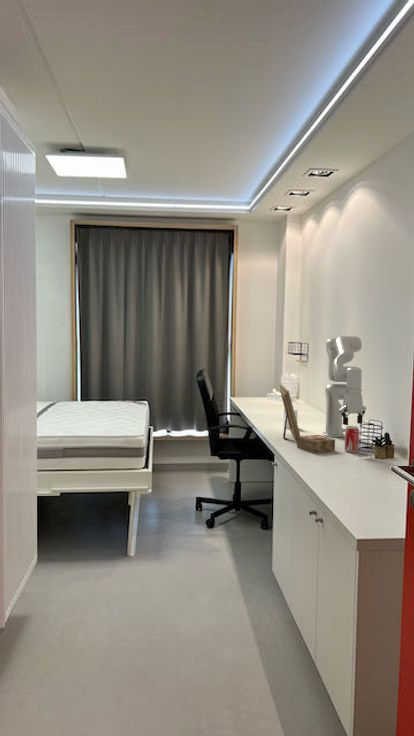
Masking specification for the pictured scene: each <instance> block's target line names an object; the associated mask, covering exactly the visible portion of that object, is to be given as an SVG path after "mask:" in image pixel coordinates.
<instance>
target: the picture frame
mask: <svg viewBox="0 0 414 736" xmlns="http://www.w3.org/2000/svg"><path fill="white" fill-rule="evenodd" d="M279 388H280V389H279V392H280V395H281V399H282V404H283V406H284V408H283V409H285V411H286V420H285V427H284V428H283V434H282V438H283V440H284V441H285V440H286V434H287V432H286V431H287V429H286V425H287V419H288V423H289V427H290V429H289V431H290V433H291V434H292V436H293V437H294V439H295V440H297V437H300V436H301V433H300V429H299V426H298V420H297V421H296V417H295V413H294V409H295V408H294V405H293V402H292V398H291V394H290V391H289V390H288V388H286V387H285V386H284V385H283V384H279Z"/></svg>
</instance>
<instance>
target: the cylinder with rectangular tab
mask: <svg viewBox="0 0 414 736" xmlns="http://www.w3.org/2000/svg"><path fill="white" fill-rule="evenodd" d="M293 409H294V413H295V417H296V421H297V422H298V409H295V408H293ZM285 420H286V411H285V408H283V423H282V426H283V427H282V428H283V429H284V427H285ZM286 430H290V427H289V423H288V419H287V425H286Z"/></svg>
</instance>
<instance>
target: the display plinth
mask: <svg viewBox="0 0 414 736" xmlns="http://www.w3.org/2000/svg"><path fill="white" fill-rule="evenodd" d="M296 448H297V449H299V448H300V450H302V451H306V452H309V453H311V454H319V453H320V454H321V453H328V452H335V451H336V439H334V438H332V437H327V436H324V435H321V434H310V435H303V436H301V435H300V437H297V443H296Z"/></svg>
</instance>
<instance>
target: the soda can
mask: <svg viewBox="0 0 414 736" xmlns="http://www.w3.org/2000/svg"><path fill="white" fill-rule="evenodd" d="M344 429H345V432H344V451H345V452H346V453H348V454H349V453H350V454H356V453H358V452H359V451H360V450H359V449H360V448H359V447H360V430H359V427H358V426H354V425H346V427H345V428H344Z"/></svg>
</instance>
